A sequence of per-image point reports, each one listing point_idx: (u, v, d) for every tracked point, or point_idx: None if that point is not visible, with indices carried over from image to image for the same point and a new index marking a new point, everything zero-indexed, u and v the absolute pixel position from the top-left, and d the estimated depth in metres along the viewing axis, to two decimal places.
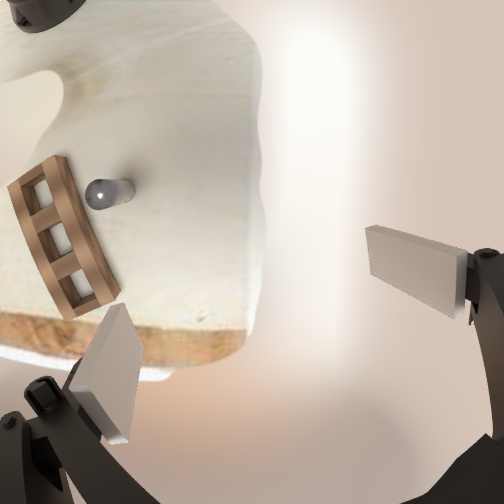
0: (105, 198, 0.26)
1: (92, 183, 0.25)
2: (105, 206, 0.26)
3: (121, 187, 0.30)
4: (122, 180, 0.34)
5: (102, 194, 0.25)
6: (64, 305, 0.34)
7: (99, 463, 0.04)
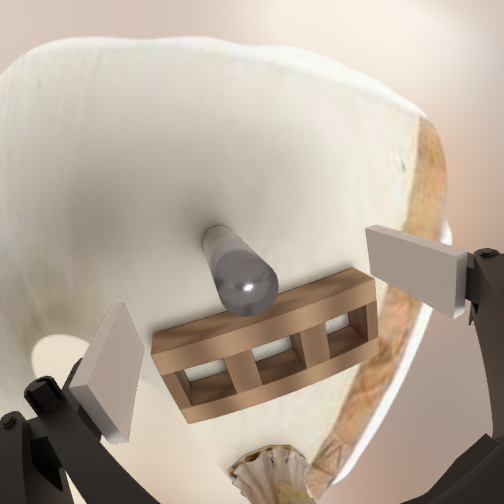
0: (259, 275, 0.14)
1: (225, 300, 0.14)
2: (274, 276, 0.15)
3: (227, 243, 0.18)
4: (205, 242, 0.23)
5: (250, 281, 0.14)
6: (361, 352, 0.28)
7: (99, 463, 0.04)
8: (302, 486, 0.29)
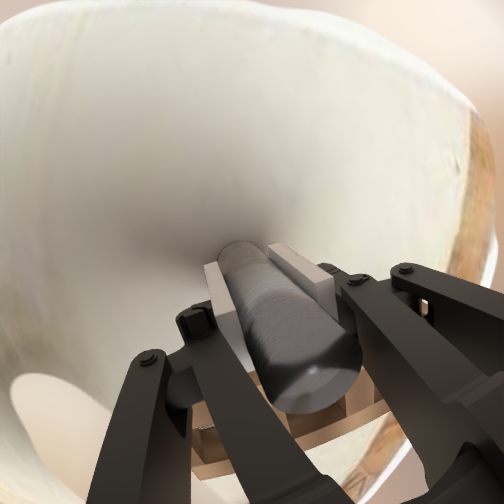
0: (335, 353, 0.07)
1: (273, 397, 0.07)
2: (357, 351, 0.08)
3: (264, 280, 0.11)
4: (223, 268, 0.16)
5: (320, 364, 0.07)
6: None
7: (241, 391, 0.06)
8: None
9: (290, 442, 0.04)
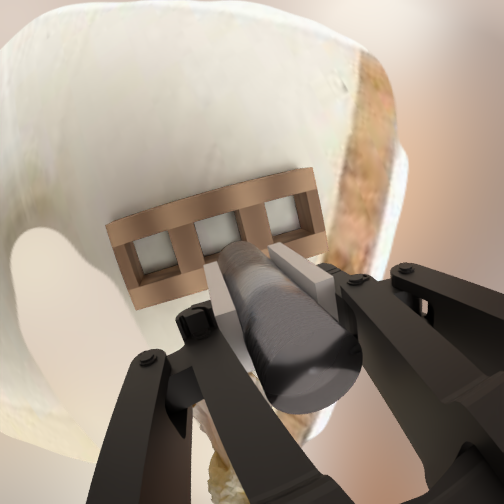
0: (335, 353, 0.07)
1: (273, 397, 0.07)
2: (358, 351, 0.08)
3: (264, 280, 0.11)
4: (223, 268, 0.16)
5: (320, 364, 0.07)
6: (308, 245, 0.30)
7: (241, 391, 0.06)
8: None
9: (290, 442, 0.04)
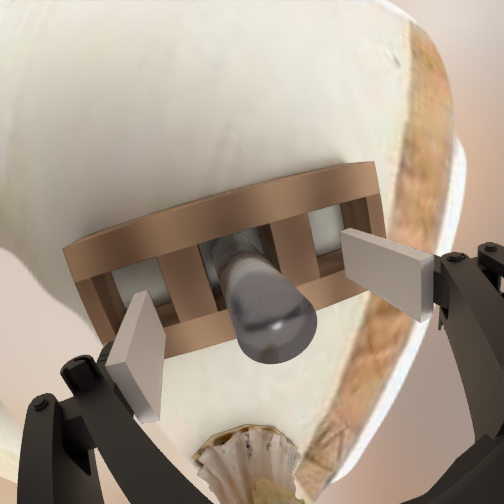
0: (292, 311, 0.10)
1: (245, 345, 0.10)
2: (312, 312, 0.10)
3: (245, 260, 0.14)
4: (216, 255, 0.19)
5: (280, 319, 0.10)
6: None
7: (133, 442, 0.05)
8: (289, 483, 0.22)
9: (191, 489, 0.04)
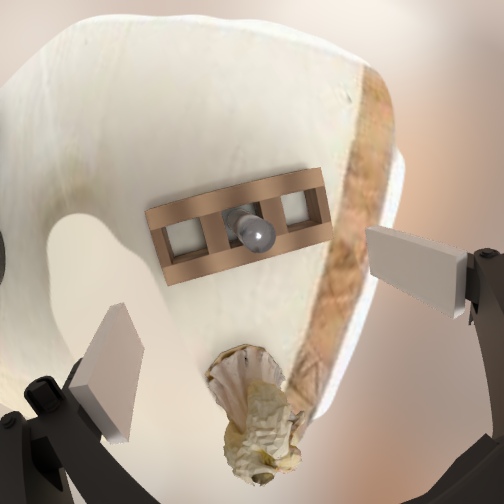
0: (265, 229, 0.26)
1: (245, 242, 0.26)
2: (273, 230, 0.26)
3: (246, 215, 0.30)
4: (230, 218, 0.34)
5: (260, 232, 0.26)
6: (316, 233, 0.35)
7: (99, 463, 0.04)
8: None
9: None
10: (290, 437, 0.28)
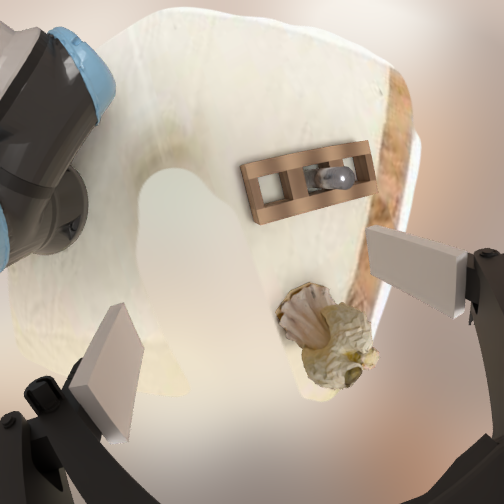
0: (348, 173, 0.35)
1: (336, 181, 0.35)
2: (353, 174, 0.35)
3: None
4: (306, 174, 0.44)
5: (345, 175, 0.35)
6: (366, 188, 0.45)
7: (99, 463, 0.04)
8: None
9: None
10: None
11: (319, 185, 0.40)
